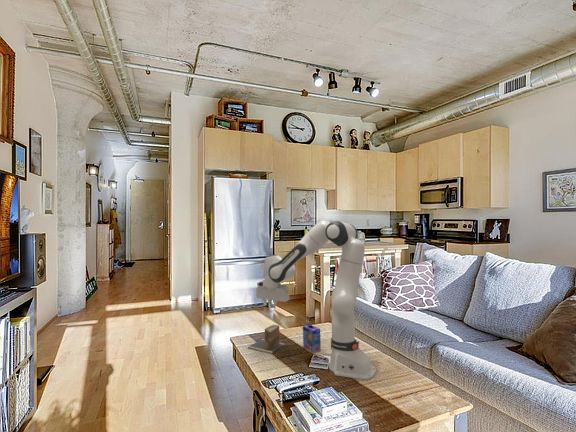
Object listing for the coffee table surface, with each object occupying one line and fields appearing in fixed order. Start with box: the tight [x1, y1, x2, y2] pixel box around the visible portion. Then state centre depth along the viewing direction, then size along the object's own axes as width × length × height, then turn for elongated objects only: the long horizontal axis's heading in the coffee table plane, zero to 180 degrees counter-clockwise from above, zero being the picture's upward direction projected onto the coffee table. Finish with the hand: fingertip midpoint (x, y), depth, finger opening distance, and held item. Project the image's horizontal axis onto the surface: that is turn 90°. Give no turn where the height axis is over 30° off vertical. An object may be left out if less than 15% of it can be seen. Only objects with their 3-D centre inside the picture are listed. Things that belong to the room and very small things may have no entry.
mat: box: [247, 338, 285, 355], centre depth 189 cm, size 16×14×1 cm
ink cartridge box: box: [302, 322, 322, 353], centre depth 186 cm, size 10×6×14 cm, turn 35°
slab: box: [264, 324, 280, 350], centre depth 187 cm, size 4×9×11 cm, turn 150°
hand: (272, 307), depth 187 cm, fingers closed
